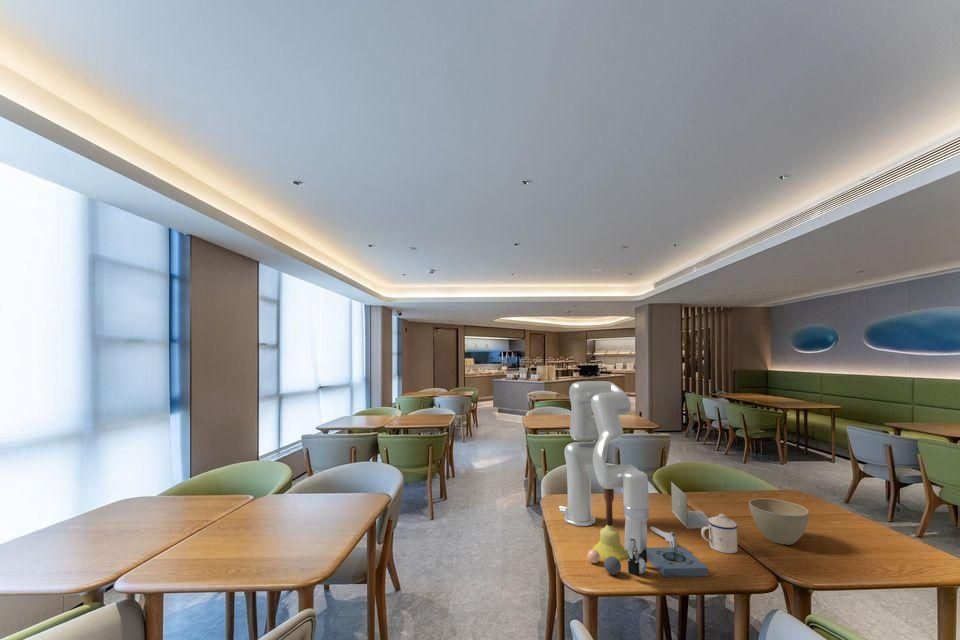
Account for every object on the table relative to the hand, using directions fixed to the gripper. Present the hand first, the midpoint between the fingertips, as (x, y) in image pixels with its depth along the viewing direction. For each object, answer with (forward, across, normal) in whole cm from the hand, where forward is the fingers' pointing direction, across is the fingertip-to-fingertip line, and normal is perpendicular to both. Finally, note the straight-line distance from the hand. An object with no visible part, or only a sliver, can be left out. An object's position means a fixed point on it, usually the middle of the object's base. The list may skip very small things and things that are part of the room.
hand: (637, 568), depth 131 cm
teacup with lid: (+2, -34, +20) cm, 39 cm away
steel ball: (-1, 0, 0) cm, 1 cm away
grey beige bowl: (+2, -54, +38) cm, 66 cm away
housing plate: (+2, -12, +9) cm, 15 cm away
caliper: (+2, -30, +2) cm, 30 cm away
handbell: (+2, -9, -12) cm, 15 cm away
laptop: (+2, -57, +9) cm, 58 cm away
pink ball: (0, +1, -14) cm, 14 cm away
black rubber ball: (-1, +5, -7) cm, 8 cm away
